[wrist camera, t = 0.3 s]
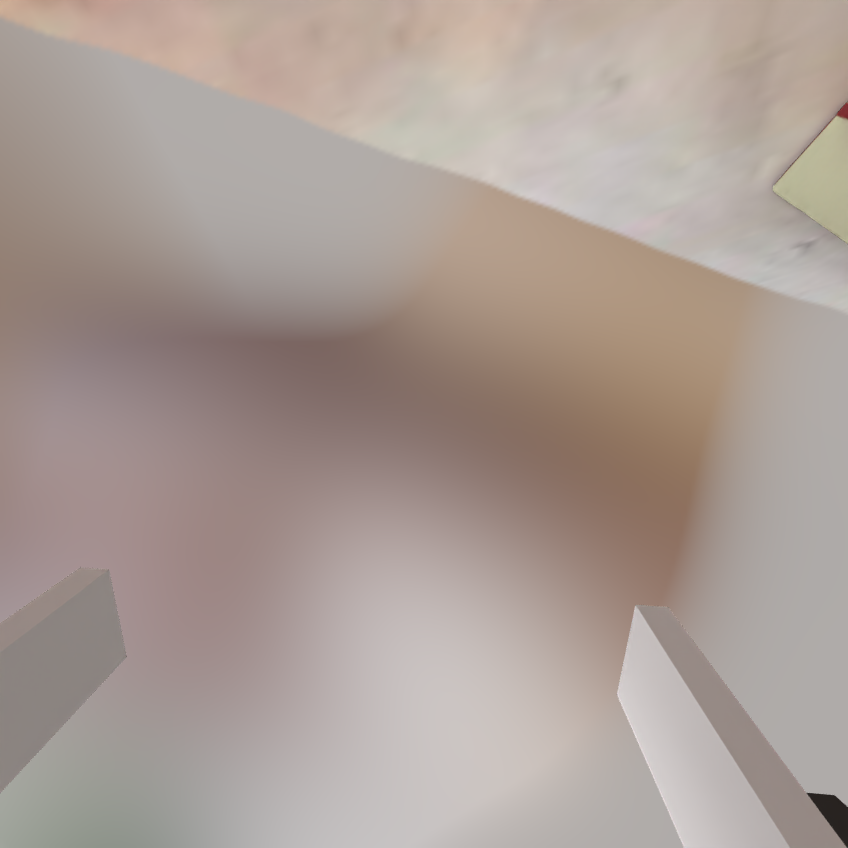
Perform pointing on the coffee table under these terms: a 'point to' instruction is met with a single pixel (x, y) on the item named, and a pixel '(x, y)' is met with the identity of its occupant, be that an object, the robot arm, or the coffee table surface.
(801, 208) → the gift box
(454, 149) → the coffee table surface
